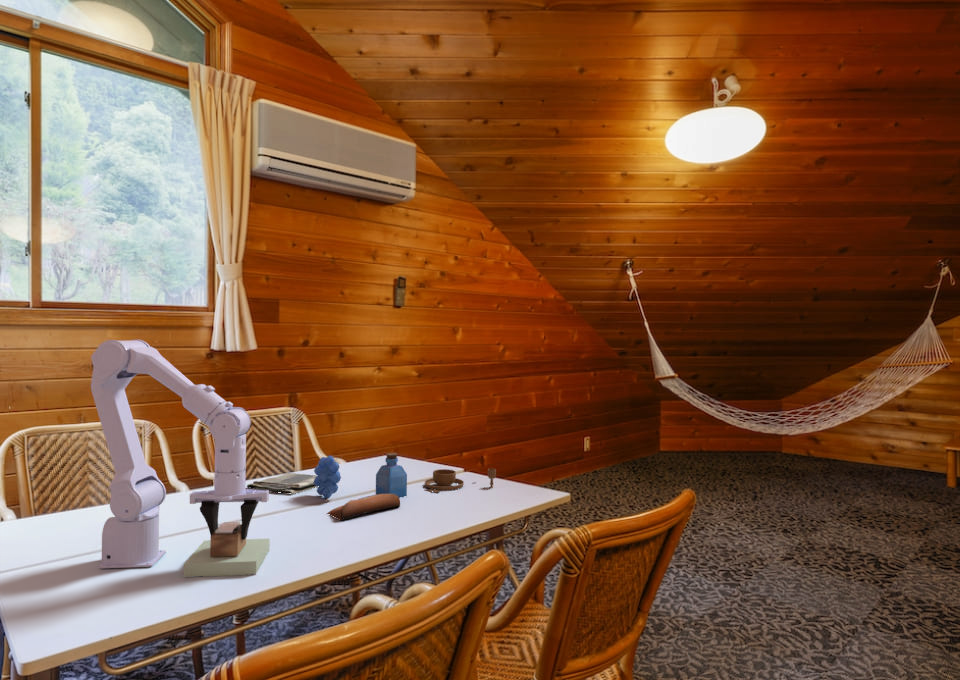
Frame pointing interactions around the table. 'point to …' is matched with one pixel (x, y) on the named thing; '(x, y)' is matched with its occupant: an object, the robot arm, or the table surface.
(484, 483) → the table surface
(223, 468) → the robot arm
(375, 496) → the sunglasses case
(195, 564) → the stand
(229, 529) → the lid plate
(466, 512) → the table surface
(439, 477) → the place setting
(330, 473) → the grapes
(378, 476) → the perfume bottle
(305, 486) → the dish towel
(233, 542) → the brown box
